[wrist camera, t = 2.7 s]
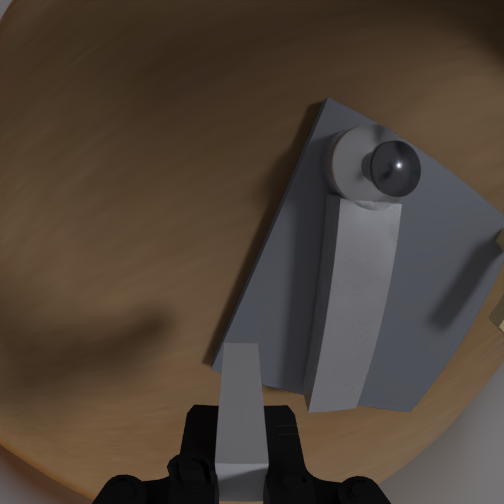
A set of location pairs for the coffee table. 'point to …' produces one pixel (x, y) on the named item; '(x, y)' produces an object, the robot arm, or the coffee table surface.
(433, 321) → the plate
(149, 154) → the coffee table surface
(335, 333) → the link
